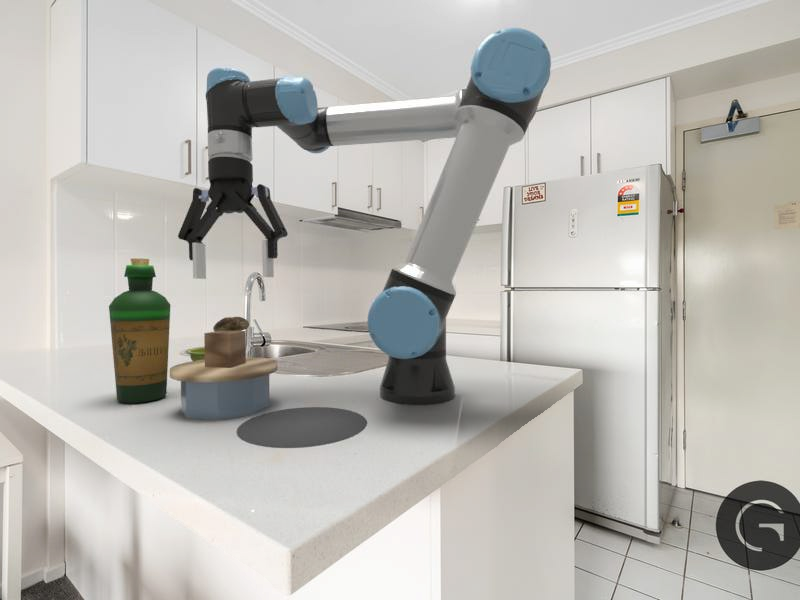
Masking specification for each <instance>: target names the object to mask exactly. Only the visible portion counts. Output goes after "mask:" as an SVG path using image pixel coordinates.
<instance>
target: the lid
mask: <svg viewBox="0 0 800 600" xmlns="http://www.w3.org/2000/svg"><path fill="white" fill-rule="evenodd" d="M246 337H247V336H246V330H242V331H211V332H204V337H203V338H204V341H203V342H204V348H205V360H198V361H192V360H191V361H186V362H183V363H177V364H176V365H173V366H171V367H170V368H169V378H170V379H172V380H174V381H179V382H181V381H185V382H225V381H236V380H244V379H251V378H256V377H261V376H265V375H268V374H269V375H270V374H271V375H272V374H273V373H275V372H276V371H278V361H277V360H275V359H272V358H267V357H255V356H254V357H252V356H247V355H246V354H247V353H246V351H247V349H246V346H247V345H246V344H247V343H246V342H247V341H246Z"/></svg>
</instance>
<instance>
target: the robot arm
mask: <svg viewBox="0 0 800 600" xmlns="http://www.w3.org/2000/svg"><path fill="white" fill-rule="evenodd" d="M551 58H552V57H551V54H550V51H549V49H548V46H547V44H546V43H545V41H544V40H542V38H541V37H540V36H539V35H537V34H536V33H535V32H532V31H530V30H528V29H525V28H521V27H508V28H507V27H506V28H502V29H499V30H498V31H496V32H493V33H491V34H489V35H487V37H485V38H484V39H483V40H482V41H481V42H480V43H479V45H478V46H477V47H476V50H475V53H474V55H473V58H472V60H471V65H470V78H469V81H468V84H467V86H466V88H463V89H462V88H459V90H458V91H457V93H456V94H454V95H448V96H447V95H446V96H438V97H435V96H434V97H425V98H417V99H416V98H415V99H403V100H392V101H382V102H381V101H380V102H370V103H356V104H347V105H337V106H336V105H334V106H325V107H319V106H318V99H317V98H318V97H317V94H316V91H315V90H314V85H313V84H312V82H311V81H310V79H308V78H307V77H304V76H295V77H293V76H284V77H278V78H270V79H269V78H268V79H261V80H253V81H252V80H251V79H250V78H249V76H248V75H247V74H246V73H245V72H243V71H242V70H240V69H236V68H233V67H230V68H229V67H228V68H227V67H225V66H222V67H215V68H213V69H211V70H210V71H209V72H208V74H207V77H206V91H205V100H206V114H207V115H206V116H207V118H206V120H207V155H208V158H210V159H209V160H208V162H207V166H208V167H207V170H208V182H209V184H210V186H209V188H208V189H202V188H198V187H195V188H193V191H192V201H191V202H190V205H189V207H188V210H187V212H186V214H185V217H184V220H183V222H182V224H181V227H180V230H179V232H178V234H177V237H178V238H177V239H179V240H183V241H184V242H187V243H188V256H189V258H188V259H189V261H192V273H193V274H192V278H193V279H202V280H205V279H206V280H207V267H206V266H207V264H206V263H207V261H206V244H205V243H203V239H204V238H205V237H206V236H207V234H208V233H209V232H210V230H211V229H212V228H213V226H214V224H215V223H217V221H218V219H219V218H220V217H222V216H223V215H224V214H228V215H229V214H234V213H238V214H241V213H242V214H243V213H245V214H246V215H247V217H248V218H249V220H251V221H252V223H253V224H254V225H255V226H256V227H257V228H258V229H259V231H260V232H261V234H263V236H264V239H262V240H261V253H262V256H261V257H262V258H261V259H262V277H263V278H274V277H275V276H274V274H275V273H274V271H275V270H274V259H277V258H278V256H279V255H278V252H279V251H278V242H279V240H280V239H282V238H286V237H287V236H288V231H287V229H286V226H285V225H284V222H283V220H282V219H281V217H280V215H279V213H278V211H277V209H276V207H275V205H274V202H273V201H272V197H271V190H270V188H269V187H267V186H266V185H264V184H261V183H259V184H257V186H255V187H254V186H253V182H254V173H253V171H254V169H253V168H254V167H253V164H252V163H251V162H252V161H253V140H252V139H253V128H268V127H269V128H270V127H277V128H278V129H279V130H280V131H282V133H284V134H285V135H287V136H288V137H289V138H290V139H291V140H292V141H293V142H295V143H296V145H298V146H299V147H300V148H301V149H302V150H305V151H307V152H309V153H311V154H322V153H324V152H325V151H326V150H328V149H329V148H330V147H338V146H353V145H354V146H355V145H367V144H368V145H369V144H382V143H395V142H397V143H399V142H411V141H413V142H414V141H424V140H425V141H427V140H440V139H442V140H443V139H452V138H453V139H454V142H453V144H452V147H451V149H450V152H449V154H448V156H447V159H446V160H445V163H444V166H443V168H442V171H441V173H440V176H439V178H438V181H437V183H436V185H435V188H434V191H433V192H432V195H431V197H430V199H429V202H428V205H427V207H426V210H425V212H424V215H423V217H422V219H421V221H420V224H419V226H418V228H417V231H416V234H415V236H414V238H413V241H412V243H411V245H410V248H409V250H408V253H407V256H406V258H405V260H404V261H402V262H401V263H399V264H397V265H394V266H393V267H392V268H391V271H390V273H389V276H388V277H387V280H386V283H385V285H384V287H383V290H382V292H380V293H379V294H378V295H377V296H376V297H375V299H374V301H373V302H372V303H371V306H370V308H369V310H368V314H367V321H366V322H367V330H368V333H369V336H370V339H371V340H372V342H373V344H375V346H376V347H377V348H378V349H379V350H380V351H381V352H383V353H384V354H385V355H388V359H387V363H386V367H385V369H384V372H383V377H382V380H381V382H380V385H379V397H380V398H381V399H382V400H384V401H387V402H389V403H394V404H398V405H406V406H409V405H410V406H431V405H438V404H443V403H447V402H450V401H452V400H454V399H455V397H456V394H455V393H456V392H455V391H456V387H455V383H454V381H453V377H452V374H451V371H450V368H449V364H448V361H447V317H448V314H449V312H450V309H451V308H452V304H453V302H454V300H455V298H456V295H457V292H456V289H455V287H454V284H453V280H454V276H455V275H456V272H457V270H458V267H459V265H460V263H461V260H462V258H463V256H464V254H465V251H466V248H467V247H468V243H469V242H470V239H471V237H472V234H473V233H474V230H475V227H476V225H477V223H478V220H479V218H480V216H481V214H482V211H483V209H484V207H485V204H486V201H487V199H488V197H489V195H490V193H491V190H492V188H493V186H494V183H495V181H496V179H497V175H498V174H499V172H500V170H501V167H502V165H503V163H504V161H505V158H506V155H507V152H508V150H509V148H510V147H511V146H512V145H515V144H517V143H519V142H521V141H523V139H524V136H525V135H526V132H527V130H528V128H529V125H530V123H531V122H532V120H533V119H534V117H535V115H536V113H537V111H538V106H539V103H540V101H541V98H542V95H543V93H544V91H545V88H546V87H547V85H548V82H549V80H550V76H551V66H552V59H551ZM255 197H256V198H257V199H258V201H259V203H260V205H261V207H262V209H263V210H264V213H265V215H266V217H267V218H268V221H269V223H270V225H269V223H268V222H267V221H266V219H264V217H263V216H262V215H261V214H260V213H259V211H258V210H257V208H256V207H255V206H254V204H253V203H252V202H251V201H252V200H253V199H254V198H255ZM209 201H210V203H208V202H209ZM207 203H208V205H207ZM205 209H206V211H205ZM204 211H205V212H204ZM271 226H272V227H271Z"/></svg>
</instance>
